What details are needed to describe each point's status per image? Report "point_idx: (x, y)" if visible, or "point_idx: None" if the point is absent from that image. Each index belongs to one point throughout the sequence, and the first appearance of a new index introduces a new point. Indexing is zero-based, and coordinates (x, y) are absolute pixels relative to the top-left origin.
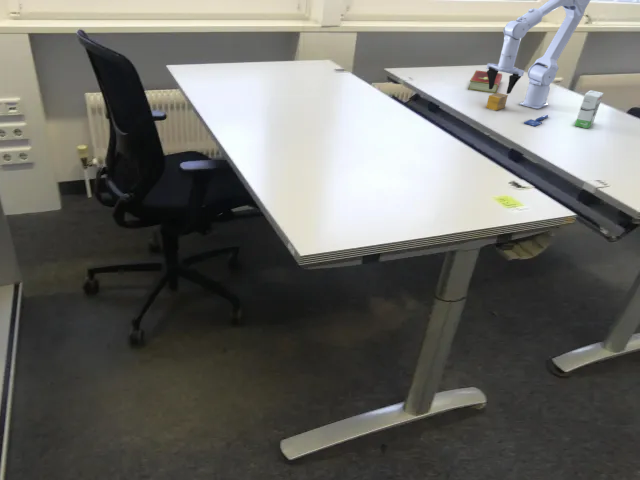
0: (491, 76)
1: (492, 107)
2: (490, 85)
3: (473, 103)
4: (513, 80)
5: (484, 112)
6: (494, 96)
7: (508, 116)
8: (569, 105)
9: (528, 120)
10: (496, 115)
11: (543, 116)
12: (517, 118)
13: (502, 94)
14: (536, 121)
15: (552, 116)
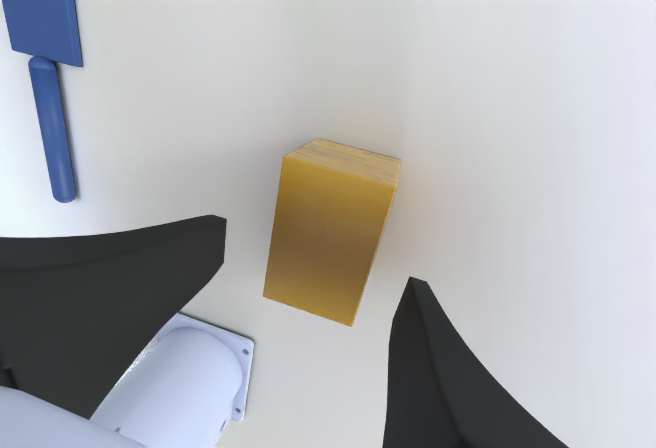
0: (439, 381)
1: (348, 149)
2: (416, 295)
3: (518, 222)
4: (3, 238)
5: (382, 16)
6: (338, 184)
7: (206, 54)
8: None
9: (67, 21)
10: (277, 5)
11: (44, 147)
12: (149, 52)
13: (302, 292)
14: (33, 40)
15: (71, 234)
